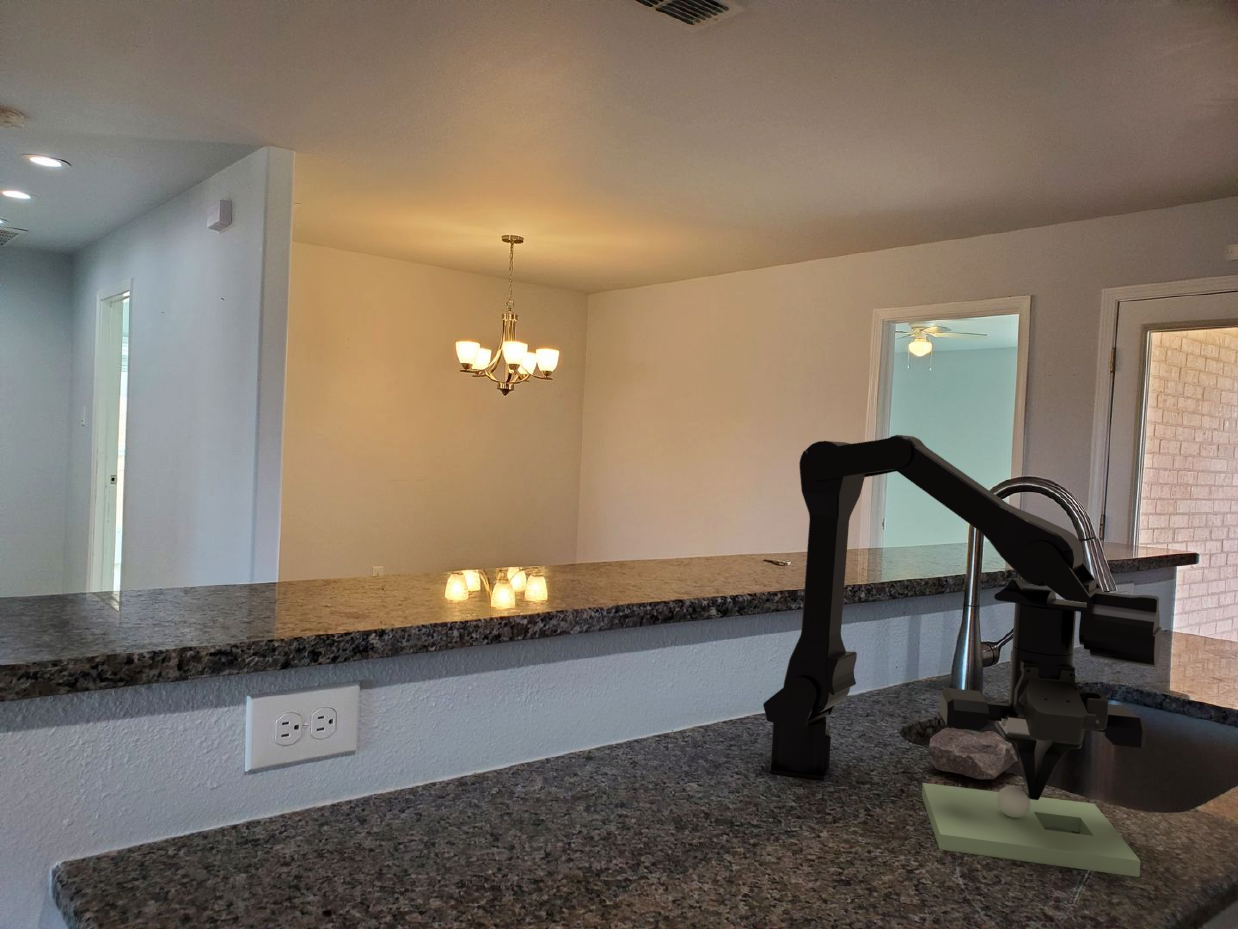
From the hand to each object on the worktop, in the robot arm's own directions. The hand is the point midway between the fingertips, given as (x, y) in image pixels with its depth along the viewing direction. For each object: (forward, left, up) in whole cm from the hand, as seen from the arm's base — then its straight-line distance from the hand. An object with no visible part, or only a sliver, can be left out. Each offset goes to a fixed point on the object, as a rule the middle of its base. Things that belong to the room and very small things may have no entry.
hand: (1033, 798), depth 94 cm
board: (-1, 0, -4) cm, 4 cm away
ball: (-2, 0, -1) cm, 2 cm away
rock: (0, +19, -5) cm, 20 cm away
